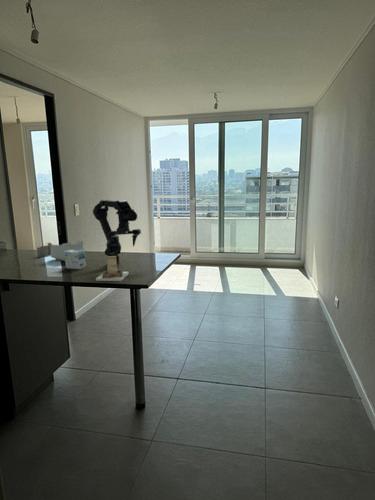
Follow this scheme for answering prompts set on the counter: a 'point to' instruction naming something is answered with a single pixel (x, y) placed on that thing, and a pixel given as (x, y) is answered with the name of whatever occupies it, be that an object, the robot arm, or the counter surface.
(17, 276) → the counter surface
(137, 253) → the counter surface
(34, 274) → the counter surface
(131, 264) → the counter surface
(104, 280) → the base board
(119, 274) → the socket frame
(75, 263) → the light bulb box
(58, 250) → the grey angular block
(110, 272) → the maple pillar
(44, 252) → the ruin model on sheet
